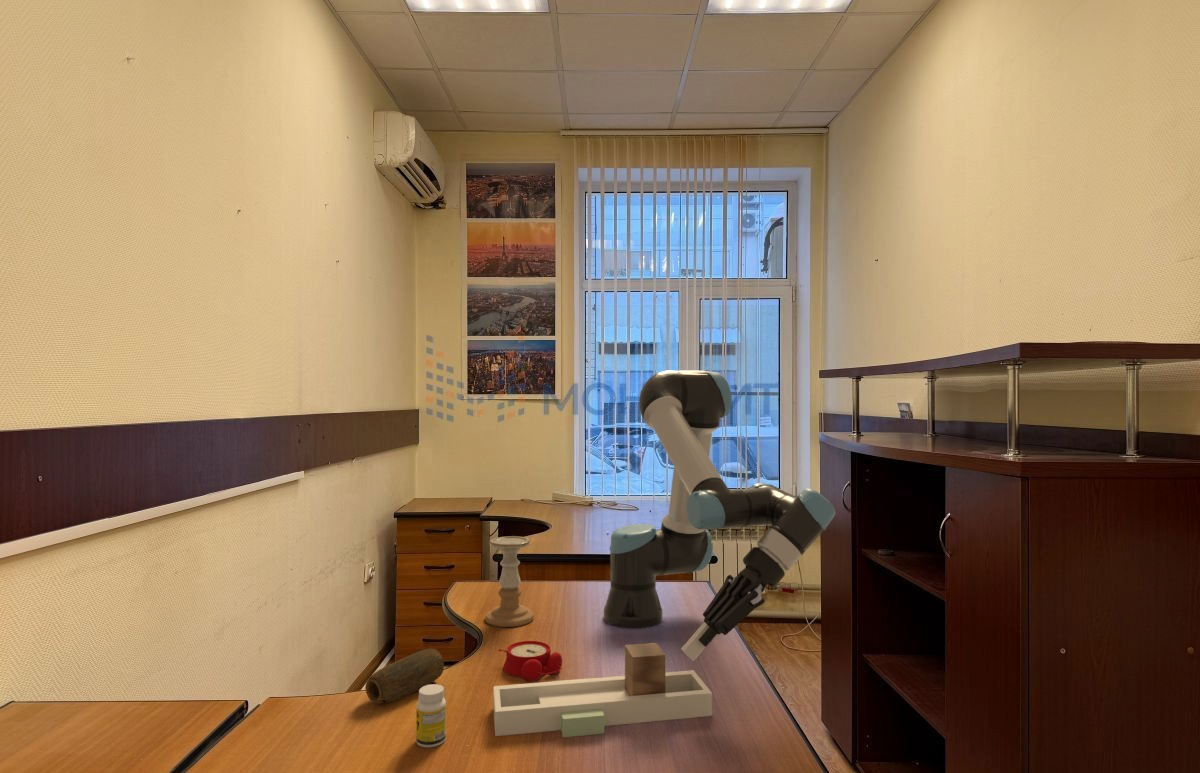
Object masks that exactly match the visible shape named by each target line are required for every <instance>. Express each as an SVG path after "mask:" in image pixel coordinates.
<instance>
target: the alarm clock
mask: <svg viewBox="0 0 1200 773" xmlns="http://www.w3.org/2000/svg"><path fill="white" fill-rule="evenodd" d="M498 652H505V653H506V658H505V662H503V671H504V672H505V673H506V674H508V675H509V676H514V677H518V678H523V679H524V680H525V681H527V682H534V681H537V680H538V679H539V678H540V677H541V676H545V675H547V676H548V675H556V674H558V673H559V672H560V671H561V670H562V666H563V665H562V664H563V657H562V655H561V653H560V652H557V651H554V652H552V653H551V647H550V645H549V644H548V643H545V642H542V641H537V640H524V641H519V642H514V643H513V644H511V645H509V646H508V647H507V649H506V650H505V649H500V648H498Z"/></svg>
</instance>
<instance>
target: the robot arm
mask: <svg viewBox="0 0 1200 773" xmlns="http://www.w3.org/2000/svg"><path fill="white" fill-rule="evenodd" d="M638 398H639V399H638V408H639V411H640V415H641V417H642V419H643V421H644V423H645V424H646V425H647V427H649V428H651V429H653V430H654V432H655V435H656V436H657V438H658V440H659V441H660V443H661V445H662V447H663V449H664V450H665V453H666V454H667V456H668V459H669V460H670V461H671V463H672V465H673V470H672V471H673V472H672V481H671V490H670V497H669V507H668V514H667V515H665V516H664V517H663V518H662V519H661V527H660V528H659V529H656V527H655V526H654V525H653V524H649V523H640V524H639V523H636V524H635V523H634V524H628V525H624V526H621V527H618V528H617V529H616V530H614V531H613V532H612V533H611V535H610V536H611V537H610V546H609V553H610V554H609V555H610V557H609V558H610V587H609V588H610V589H609V593H608V595H607V599H606V603H605V605H604V607H603V620H604V621H605V622H606V623H608V624H610V625H612V626H615V627H620V628H629V629H637V628H638V629H639V628H649V627H653V626H656V625H658V624H660V623H661V622H662V621H663V607H662V606H661V602H660V601H661V600H660V598H659V595H658V592H657V588H656V586H657V584H656V581H657V580H656V577H657V576H665V575H666V576H667V575H677V574H691V573H694V572H699V571H700V572H701V571H702V570H704V569H705V568H707V566H708V565H709V563H710V562H711V559H712V556H713V548H714V546H713V542H712V541H713V539H712V538H713V536H712V534H711V533H710V531H709V530H714V531H715V530H716V531H717V530H719V529H720V530H721V529H732V528H744V527H748V528H749V527H760V526H761V527H762V526H769V528H768V529H767V531H766V532H765V533H764V534H763V535H762V536H761V537H760V538H759V540H758V541H756V545H757V546H754V547H752V548H751V549H750V550H749V551H748V553H746V554H745V556H744V557H743V559H742V562H743V564H744V565H745V567H744V568H743V569H742V570H741V571H739V573H738V574H737V575H736V576H734V577H733V576H732V575H731V574H728V575H727V576H726V578H725V580H724V582H723V584H722V585H721V587H720V589H719V590H718V592H717V593H716V595H715V596H714V597H713V598H712V600H711V601H710V603H709V604H708V606H707V608H705V610H704V611H703V613H702V616H703V617H704V619H703V621H704V622H703V623H702V624H701V625H700V626H699V627H698V629H697V630H696V631H695V632H694V633H693V634H692V635H691V636H690V638H689V639H688V640H687V641H686V642H685V643H684V645H683V646H682V647H681V648H680V650H681V651H682V652H683V653H684V655H686V656H687V657H688V658H689V659H690V660H691V661H692V662H695V661H696V660H697V658H698V657H699V656H700V655H701V654H702V652H704V650H705V649H706V648H707V647H708V646H709V644H710V643H711V642H712V640H714V638H716V636H717V635H721V634H722V635H723V636H726V635H728V634H729V633H730V632H731V631H732V630H733V629H734V628H735V627H737V626H738V625H739V624H740V623H741V622H742V621H743V620H744V619H745V618H746V617H747V616H749V615H750V614H751V613H752V612H753V611H754V610H756V609H757V608H759V607H760V606H762V605H763V604H764V603H765V600H766V599H764V597H763V596H762V593H763V592H764V591H765V590H766V587H767V586H768V587H769V588H771V589H772V588H775V587H776V586H777V585H778V584H779V583H780V582H781V580H782V579H783V578H784V577H785V576H786V572H785V571H790V570H791V568H792V567H793V566H794V565H797V563H798V560H799V559H800V558H801V557H802V556H803V554H804V553H805V552H806V551H807V550H808V549H809V548H810V547H811V545H812V544H813V543H814V542H815V541H816V540H817V539H818V538H819V536H820V535H821V534H822V533H823V532H824V531H826V530H827V527H828V526H829V524H830V523H831V522H832V521H833V519H834V517H835V515H836V509H835V508H834V506H833V504H832V503H831V502H830V500H828V499H827V498H826V497H825V496H824V495H822V493H820V492H818V491H816V490H815V489H812V488H805V489H803V490H802V491H801V492H800V493H798V494H797V495H793V494H790V493H788V492H787V491H784V490H782V489H780V488H779V487H777V486H774V485H773V484H768V483H764V482H756V483H754V484H753V485H751V486H749V487H748V488H739V489H737V488H735V489H730V488H729V487H728V485H727V484H726V483H725V481H724V480H723V478H722V477H721V475H720V473H719V472H718V470H717V469H716V468H717V467H715V465H714V463H713V462H712V460H711V458H710V451H711V444H712V436H713V432H714V431H716V430H718V428H719V427H720V421H721V419H723V418H725V417H727V416H728V415H729V413H730V412H731V410H732V402H733V401H732V400H733V398H732V390H731V388H730V385H729V382H728V381H727V379H726V378H725V376H724V375H722V374H721V373H719V372H717V371H708V370H671V369H669V370H662V371H660V372H657V373H655V374H653V375H652V376H650V378H648V380H646V382H645V383H644V384H643V386H642V388H641V390H640V393H639V397H638Z"/></svg>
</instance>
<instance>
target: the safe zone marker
mask: <svg viewBox="0 0 1200 773" xmlns="http://www.w3.org/2000/svg"><path fill="white" fill-rule="evenodd" d="M578 679H579V678H577V679H573V680H578ZM585 679H590V678H589V677H588V678H585ZM565 680H566V679H563V680H562V679H561V680H560V681H565ZM553 681H554V680H552V681H551V682H553ZM560 731H561V735H562V738H571V737H572V738H573V737H582V736H592V735H602V734H605V726H604V713H603V711H602V709H591V710H579V711H568V712H561V730H560Z"/></svg>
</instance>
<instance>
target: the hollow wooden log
mask: <svg viewBox="0 0 1200 773" xmlns="http://www.w3.org/2000/svg"><path fill="white" fill-rule="evenodd" d="M444 669H445V662H444V658H443V656H442V655H441V653H440V651H439V650H437V649H435V648H426V649H422V650H419V651H416V652H415V653H412V654H410V655H407V656H405V657H403V658H401V659H398V660H396V661H394V662H392V663H390V664H388V665H386V666H384V667H382V668H380V669H379V670H377V671H376V672H374V673H372V674H371V675H370V676H369V677H368V679H367V680H366V683H365V687H364V689H365V693H366V695H367V697H368V699H369V700H370V701H371V702H373V703H375V704H377V705H381V704H382V703H384V704H387V703H390V702H391V703H392V702H394V701H396V700H399V699H401V698H404V697H406V696H408V695H409V694H412V693H414V692H416V691H419V690H420V688H422V687H423V686H426V685H431V683H433V682H435V681H436V680H438V679H439V678H440V677H441V676H442V675H443V673H444Z"/></svg>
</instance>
